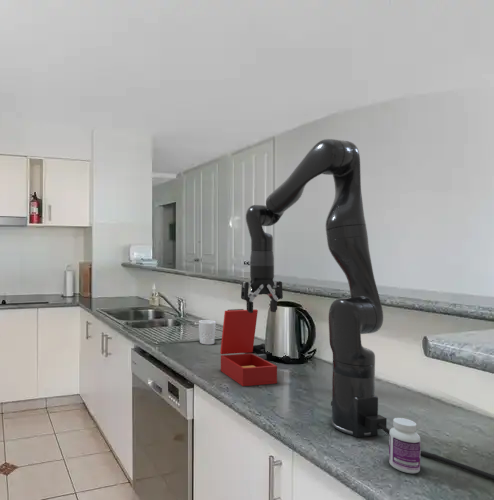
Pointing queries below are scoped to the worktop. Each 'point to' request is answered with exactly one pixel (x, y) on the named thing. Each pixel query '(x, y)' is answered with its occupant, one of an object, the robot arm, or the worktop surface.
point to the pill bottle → (404, 446)
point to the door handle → (267, 353)
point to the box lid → (238, 331)
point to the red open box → (249, 369)
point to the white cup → (207, 331)
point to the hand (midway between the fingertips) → (261, 312)
